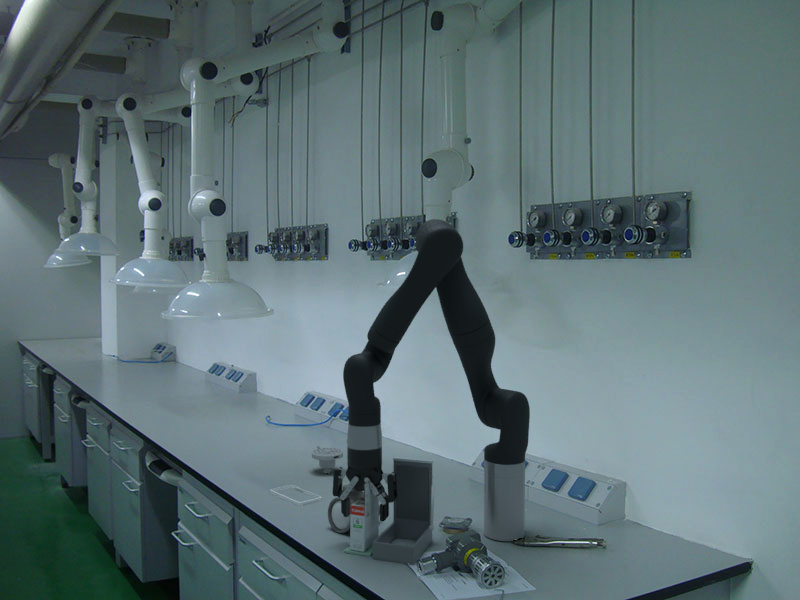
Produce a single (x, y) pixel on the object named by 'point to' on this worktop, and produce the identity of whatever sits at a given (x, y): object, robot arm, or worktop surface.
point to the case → (409, 512)
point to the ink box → (364, 521)
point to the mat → (365, 553)
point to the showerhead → (327, 457)
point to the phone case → (273, 491)
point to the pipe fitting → (335, 514)
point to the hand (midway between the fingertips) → (364, 518)
